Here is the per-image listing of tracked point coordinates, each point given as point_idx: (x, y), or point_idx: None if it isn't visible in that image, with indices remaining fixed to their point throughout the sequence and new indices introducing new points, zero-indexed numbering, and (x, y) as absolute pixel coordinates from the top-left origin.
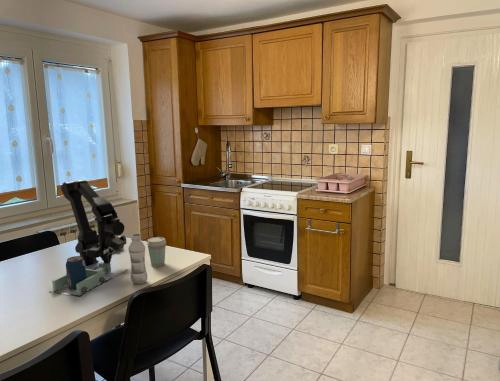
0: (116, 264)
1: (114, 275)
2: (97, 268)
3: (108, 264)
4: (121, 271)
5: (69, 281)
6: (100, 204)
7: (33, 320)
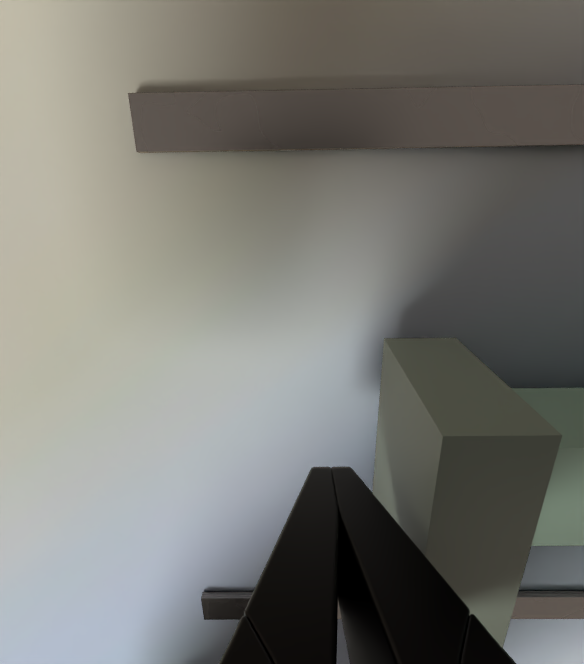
0: (49, 473)
1: (537, 144)
2: None
3: (537, 435)
4: (299, 146)
5: None
6: None
7: None
